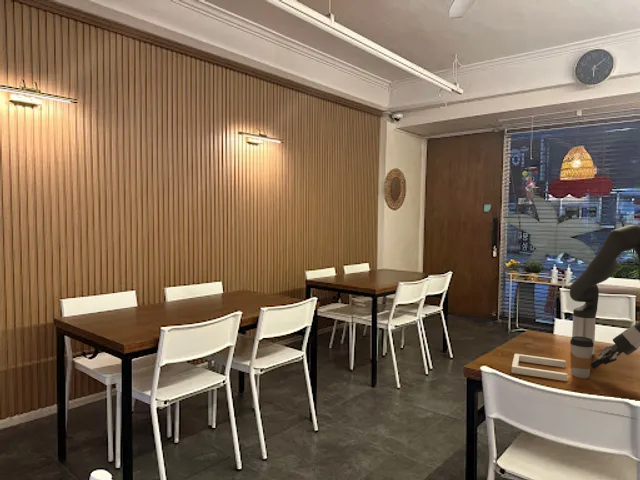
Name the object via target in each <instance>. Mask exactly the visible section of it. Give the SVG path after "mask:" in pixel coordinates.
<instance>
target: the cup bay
mask: <svg viewBox="0 0 640 480" xmlns="http://www.w3.org/2000/svg"><path fill="white" fill-rule="evenodd" d="M520 362H524V363H529V364H537V365H538V364H539V365H543V366H544V365H545V366H552V367H558V368H566V365H567V364H566V362H567V361H566V360H565V359H558V358H557V359H556V358H551V357H542V356H536V355H529V354H528V355H527V354H523V353H522V354H521V353H514V355H513V359H512V365H511V374H518V375H524V376H529V377H539V378H544V379H551V380H556V381H563V382H568V373H567V372H560V371H553V370H546V369H540V368H532V367H526V366H520V365H519V364H520Z"/></svg>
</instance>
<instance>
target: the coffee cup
mask: <svg viewBox="0 0 640 480" xmlns="http://www.w3.org/2000/svg"><path fill="white" fill-rule="evenodd" d="M569 343H570V344H569V345H570V367H571V368H570V373H571V374H572V376H574V377H576V378H579V379H588V378H589V377H590V374H591V369H592V366H591V362H593V361H592V359H593V355H592V352H593V347H594V348H595V342H594V343H593V340H592V339H590V338H586V337H579V336H574V337H572V336H571V339H570V342H569Z"/></svg>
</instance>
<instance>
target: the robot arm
mask: <svg viewBox="0 0 640 480" xmlns="http://www.w3.org/2000/svg"><path fill="white" fill-rule="evenodd" d="M630 250H634V251H635V253H636V254H637V258H638V279H639V281H640V226H638V225H637V224H629V225H625V226H622V227H618V228H615V229H613V230H611V231H610V232H609V234H608V235H607V237H606V239H605V241H604V244H603V245H602V246H601V248H600V250H599V251H598V252H597V254H596V256H595V257H594V258H593V259H592V261H591V262H590V263H589V264H588V266H587V268H586V269H585V270H584V272H582V274H581V275H580V276H579V277H578V278H577V279H576V280H575V281H574V282H572V285H570V289H569V296H570V299H571V300H572V301H575V302H578V303H580V302H581V303H584V304H583V305H582V306H579V307H576V308H574V309H573V312H572V330H571V332H572V333H571V338H572V337H574V336H579V337H586V338H590V339H592V340H593V343H594V344H595V340H596V339H595V338H596V337H595V336H596V317H597V312H598V303H599V296H600V294H599V292H600V291H599V286H598V285H599V284H601V283H603V282H605V281H607V280H608V279H609V278H610V277H612V275H613V274H614V273H615V271H616V270H617V267H618V262H617V258H618V257H619V256H620V255H621V254H623V253H625V252H627V251H630ZM612 342H613V343H614V344H613V345H609V346H606V347H605V348H604V349H603V350H602V351H601V352H600V353H599V354H598V355H597V358H595V359H594V360H593V361H592V362H591V368H592V369H594V370H595V369H597V368H598V367H599V366H601V365H607V364H611V363H614V362H615V361H617V359H618V358H619V357H620V355H622V353H624V355H626V356H629V355H631V354H633V353H634V352H635V351H637V350H639V349H640V321H638V322H637V323H635V324H633V325H632V326H631V327H629V328H627V329H625V330H624V331H623V332H621V333H619V334H618V335H617V336H615V337H614V338H612ZM594 354H595V346H594V347H593V352H592V356H593V355H594Z"/></svg>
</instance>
